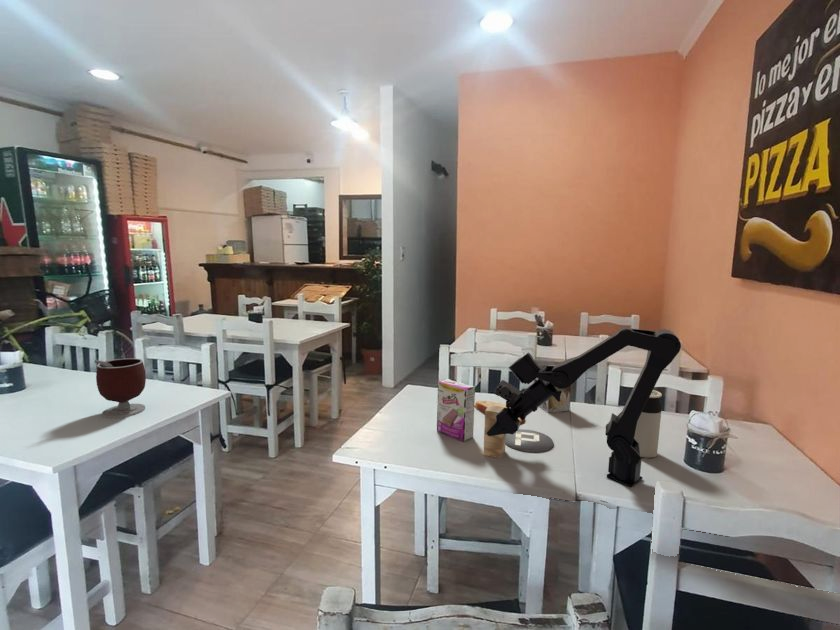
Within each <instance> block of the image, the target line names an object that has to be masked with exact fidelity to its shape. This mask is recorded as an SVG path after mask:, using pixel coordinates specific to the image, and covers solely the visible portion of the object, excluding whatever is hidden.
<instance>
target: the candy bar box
mask: <svg viewBox="0 0 840 630" xmlns="http://www.w3.org/2000/svg"><path fill="white" fill-rule="evenodd" d="M475 396H476V386H475V385H471V384H468V383H467V384H466V383H463V382H460V381H456V380H453V379H449V378H445V379H441V380H439V381H437V406H436V407H437V409H436V410H437V413H436V415H437V416H436V432H438V433H441V434H444V435H446V436H449V437H452V438H454V439H457V440H458V441H462V442H466V441H468V440H470V439H473V438H474V424H475V423H474V422H475V420H474V419H475V407H474V406H475V400H476V399H475Z"/></svg>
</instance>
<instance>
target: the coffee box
mask: <svg viewBox="0 0 840 630" xmlns="http://www.w3.org/2000/svg"><path fill="white" fill-rule="evenodd" d="M556 364H557V363H556ZM556 364H542V365H540V367H542V366H555V365H556ZM556 388H557V387H556ZM557 389H560V388H557ZM562 390H563V391H562V393H561V400H560V402H558V401H557V400H556V399H555V398H554V397H551V398H550V399H549V400H547V401H546V402H545V403H543V404H542V405H541V406H539V407H538V408H540V410H542V411H544V412H546V413H548V414H549V413H558V412H559V413H560V412H567V411H568V412H569V411H571V410H570V409H571V394H572V392H571V391H572V384H571V385H570V386H569V387H568V388H565V389H562Z"/></svg>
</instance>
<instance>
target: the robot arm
mask: <svg viewBox="0 0 840 630" xmlns="http://www.w3.org/2000/svg"><path fill="white" fill-rule="evenodd" d="M626 347H633V348H638V349H641V350H645V351H647V352H646V353H647V354H646V358H645V362H644V365H643V368H642V369H641V371H640V373H639V375H638V377H637V379H636V382H635V384H634V385H633V387H632V390H631V392H630V393H629V396H628V398H627V400H626V402H625V405H624V406H623V408H622V410H621V411H620V413H618V415H616V414H614V413H613V412H612V413H611V416H610V420H609V422H608V423H607V424H605V436H606V444H607V446H608V448H609V449H610V450H611V454H610V456H609V458H608V468H607V472H608V473H607V474H606V476H607V477H606V478H608V477H609V478H608V479H610V478H612V479H611V480H613V479H614V480H613V481H615V480H617V481H618V483H620V482H621V483H620V484H622V483H623V485H625V484H626V485H625V486H627V485H628V487H630V488H633V487H634V486H635V485H637V484H638V483H640V482H641V481H642V480H643V476H641V469H642V458H643V457H641V456H640V448H639V443H638V442H637V441H636V440H635V439H634V436H635V431H636V426H637V421H638V419H639V417H640V415H641V413H642V411H643V409H644V407H645V405H646V403H647V401H648V399H649V397H650V395H651V393H652V391H653V390H655V387H656V385H657V383H658V380H659V378H660V376H661V374H662V373H663V371H664V370H665V369H666V368H667V367H668V366H670V364H671V363H672V361H673V360H674V359H675V358H676V357H677V355H678V354H679V353H680V351H681V348H682V343H681V341H680V339H679V337H678V336H677V335H676V334H675V333H674V331H671V330H670V329H666V328H665V329H658V330H656V331H655V330H648V329H638V328H631V327H629V326H626V327H621V328H619V330H618V331H617V332H615V333H613V334H612V335H610V336H609V337H607V338H606V339H604V340H602V341H601V342H599V343H598V344H596V345H594V346H592V347H591V348H589V349H588V350H586V351H584V352H582V353H581V354H580V355H577V356H574V357H570V358H567V359H565V360H563V361H560V362H557V363H556V365H555V364H554V365H555V366H542V367H541V365H539V363H538V362H537V361H536V360H535V358H534V357H533V356H532V354H531V353H530V352H527V353H525V354H524V355H523V356H522V357H519V358H518V359H516V360H515V361H514V362H513V363H512V364H510V366H509V367H508V369H509V370H510V371H511V372H512V374H513V375H514V377H516V378H517V379H518V381H520V383H521V384H522V385H523V384H524V385H529V386H528V387H526V388H525V387H524V388H522V389H518V388H517V387H516V386H515V385H512V384H511V383H509V382H507V381H506V380H504V379H502V380H501V381H500V382H499V383H498V385H497V386H496V388H495V390H494V395H496V396H497V397H500V398H502V399H504V400H505V405H506V407H507V408H503V409H502V410H501V411H500V412H498V414H497V415H496V419H497V421H496V423H495V424H494V425H493V426H492V427H491V428H490V429H489V431H488V432H487V435H488V436H494V435H501V434H512V435H513V434H514V433H515V432H517V431H518V429H520V427H521V425H520V421H519V419H518V418H520V419H521V420H522V421H523V420H524V419H526V418H527V416H529V415H530V414H531V413H532V412H533V413H535V412H537V411H538V408H540V407H539V406H541V405H542V404H543V403H545V402H546V401H547V400H549V399H550V398H551V397H554V398H555V399H556V400H557V401H558V402H560V400H561V393H562V391H563V390H562V389H565V388H568V387H569V386H570V385H571V386H572V385H573V383H575V382H577V380H578V379H580V377H581V376H582V375H583V374H585V373H586V372H587V371H588V370H589V369H591V368H593V367H594V366H596V365H598V364H599V363H600V362H603V361H605V360H606V359H607V358H609V357H611V356H612V355H614V354H616V353H618V352H619V351H621V350H623V349H624V348H626ZM536 379H537V380H536ZM535 380H536V381H535ZM532 382H533V383H532ZM531 383H532V384H531ZM556 387H557V388H560V389H557V388H556ZM617 481H616V482H617ZM632 486H633V487H632Z"/></svg>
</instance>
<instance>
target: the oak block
mask: <svg viewBox="0 0 840 630" xmlns="http://www.w3.org/2000/svg"><path fill="white" fill-rule="evenodd" d="M503 408H507V407H501V406H494V405H489V406H488V408H487V409H486V410H485V414H484V429H483V430H484V433H483V434H484V435H483V456H488V457H493V458H497V459H502V457H503V456H504V454H505V452H506V444H505V440H506V434H501V435H494V436H488V435H487V432H488V431H489V429H490V428H491V427H492V426H493V425H494V424H495V423H496V421H497V419H496V415H497V414H498V412H500V411H501V410H502V409H503Z"/></svg>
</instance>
